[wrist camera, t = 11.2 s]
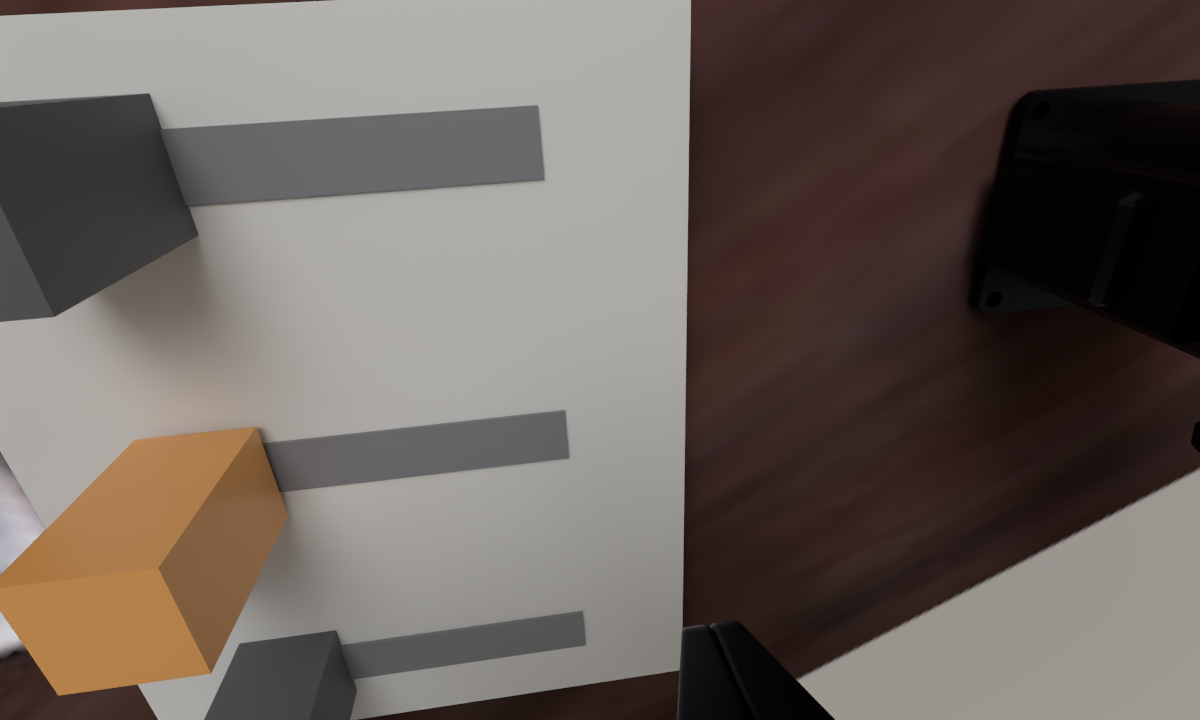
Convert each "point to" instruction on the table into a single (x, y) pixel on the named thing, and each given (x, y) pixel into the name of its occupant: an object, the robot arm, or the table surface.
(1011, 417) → the table surface
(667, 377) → the breaker panel
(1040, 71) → the table surface
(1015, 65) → the table surface
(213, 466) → the block
